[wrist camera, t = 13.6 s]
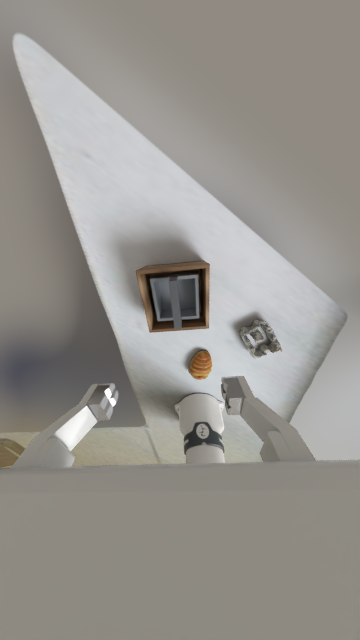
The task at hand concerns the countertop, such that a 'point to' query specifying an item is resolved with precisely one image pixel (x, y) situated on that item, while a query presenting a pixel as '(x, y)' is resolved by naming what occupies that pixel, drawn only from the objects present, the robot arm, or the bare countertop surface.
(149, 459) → the countertop surface
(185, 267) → the big crate
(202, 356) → the pastry
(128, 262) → the countertop surface
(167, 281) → the small crate
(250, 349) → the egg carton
